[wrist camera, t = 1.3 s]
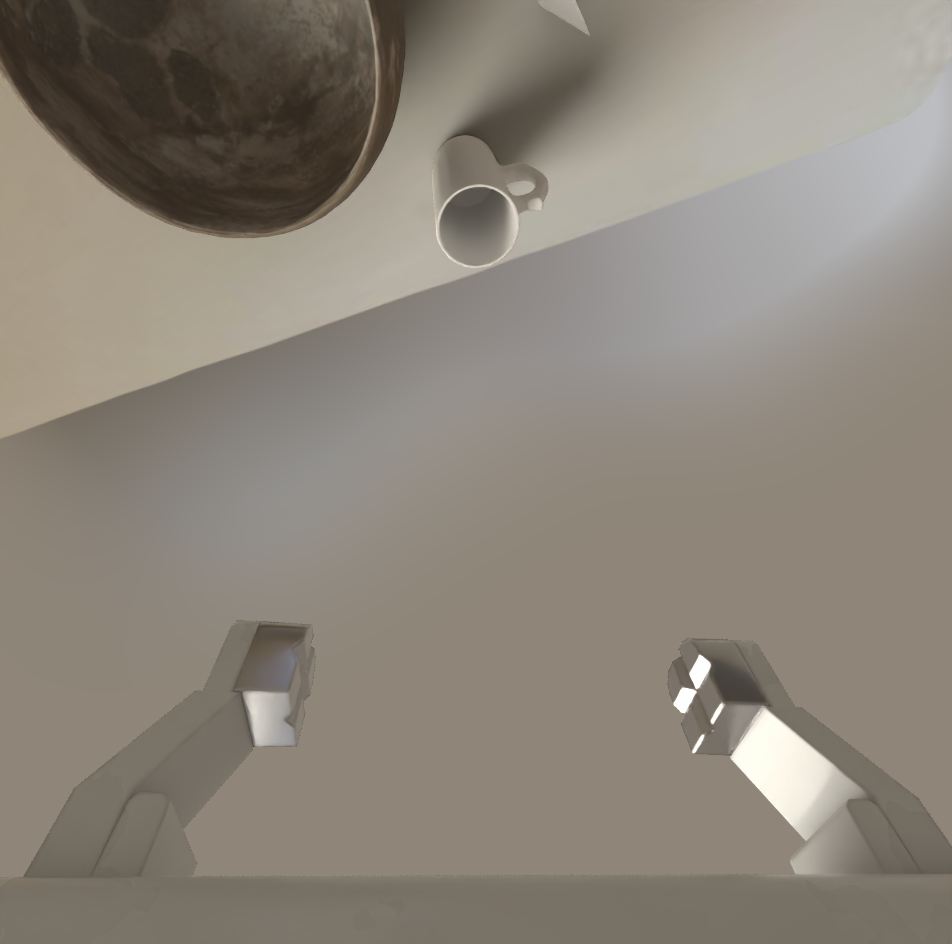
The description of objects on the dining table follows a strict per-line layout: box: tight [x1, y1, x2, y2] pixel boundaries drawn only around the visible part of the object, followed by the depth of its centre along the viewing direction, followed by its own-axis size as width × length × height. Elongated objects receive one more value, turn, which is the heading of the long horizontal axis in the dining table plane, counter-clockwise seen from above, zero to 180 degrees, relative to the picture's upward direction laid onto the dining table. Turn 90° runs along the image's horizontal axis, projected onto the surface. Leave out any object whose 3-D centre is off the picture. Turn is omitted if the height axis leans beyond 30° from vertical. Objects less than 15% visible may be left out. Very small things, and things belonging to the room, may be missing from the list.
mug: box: [432, 135, 548, 268], centre depth 46 cm, size 10×7×12 cm, turn 103°
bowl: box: [0, 0, 405, 238], centre depth 35 cm, size 24×24×15 cm
